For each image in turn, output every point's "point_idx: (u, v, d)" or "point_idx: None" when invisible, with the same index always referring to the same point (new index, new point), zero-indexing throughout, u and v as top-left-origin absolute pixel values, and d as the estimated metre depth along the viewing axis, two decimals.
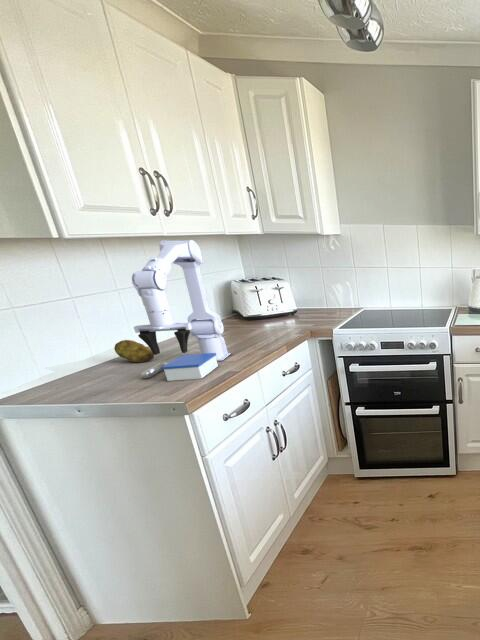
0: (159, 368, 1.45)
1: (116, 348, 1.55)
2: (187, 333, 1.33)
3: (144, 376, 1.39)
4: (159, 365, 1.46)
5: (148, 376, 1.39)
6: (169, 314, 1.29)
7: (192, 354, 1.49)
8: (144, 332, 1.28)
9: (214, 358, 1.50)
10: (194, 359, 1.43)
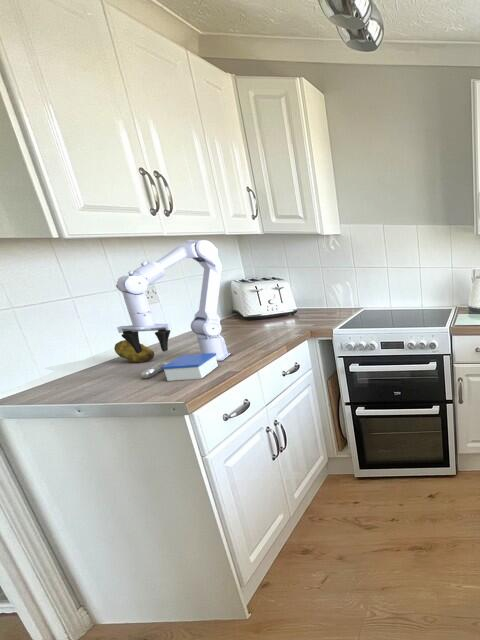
0: (159, 368, 1.45)
1: (116, 348, 1.55)
2: (167, 333, 1.44)
3: (144, 376, 1.39)
4: (159, 365, 1.46)
5: (148, 376, 1.39)
6: (150, 316, 1.39)
7: (192, 354, 1.49)
8: (127, 332, 1.39)
9: (214, 358, 1.50)
10: (194, 359, 1.43)
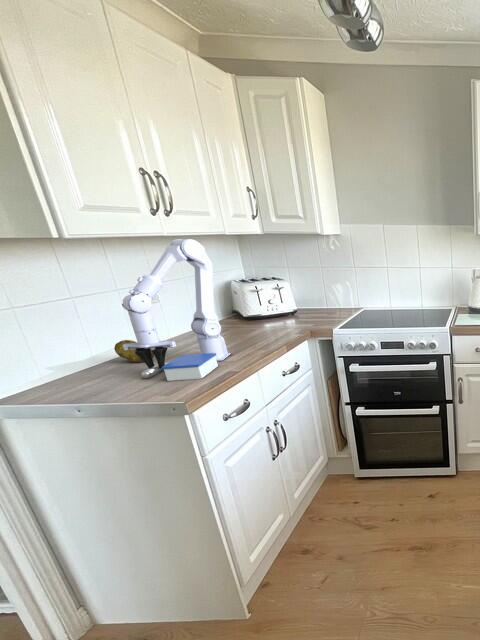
0: (159, 368, 1.45)
1: (116, 348, 1.55)
2: (164, 350, 1.46)
3: (144, 376, 1.39)
4: None
5: (148, 376, 1.39)
6: (155, 333, 1.42)
7: (192, 354, 1.49)
8: (140, 349, 1.42)
9: (214, 358, 1.50)
10: (194, 359, 1.43)
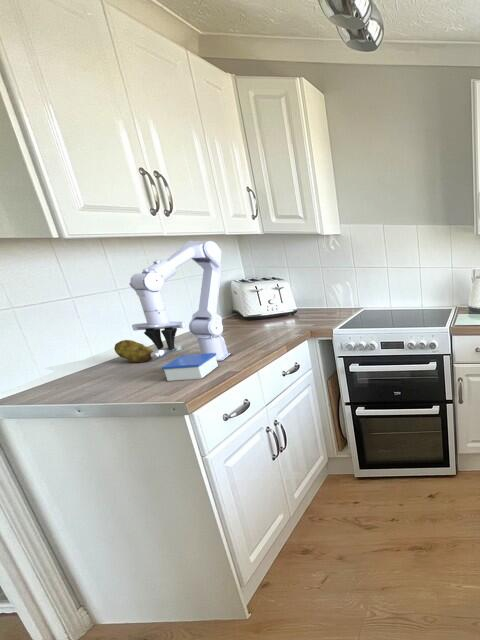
0: (168, 349, 1.42)
1: (116, 348, 1.55)
2: (174, 331, 1.43)
3: (153, 357, 1.35)
4: None
5: (157, 357, 1.36)
6: (164, 313, 1.39)
7: (192, 354, 1.49)
8: (149, 329, 1.39)
9: (214, 358, 1.50)
10: (194, 359, 1.43)
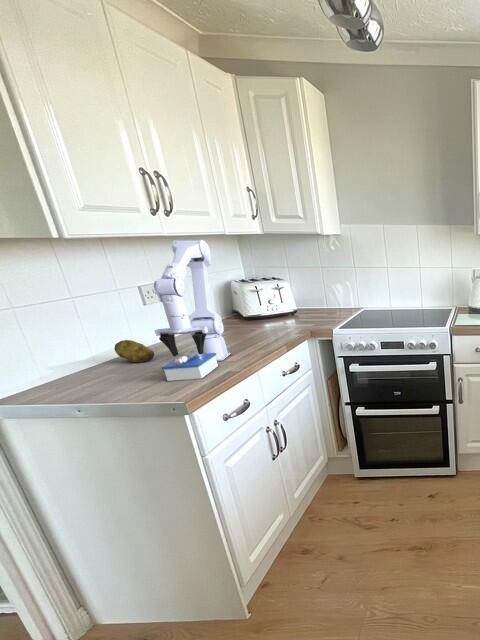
0: (191, 355, 1.42)
1: (116, 348, 1.55)
2: (203, 336, 1.43)
3: (177, 363, 1.35)
4: (191, 352, 1.43)
5: (181, 363, 1.36)
6: (187, 318, 1.38)
7: None
8: (164, 335, 1.38)
9: (214, 358, 1.50)
10: (194, 359, 1.43)
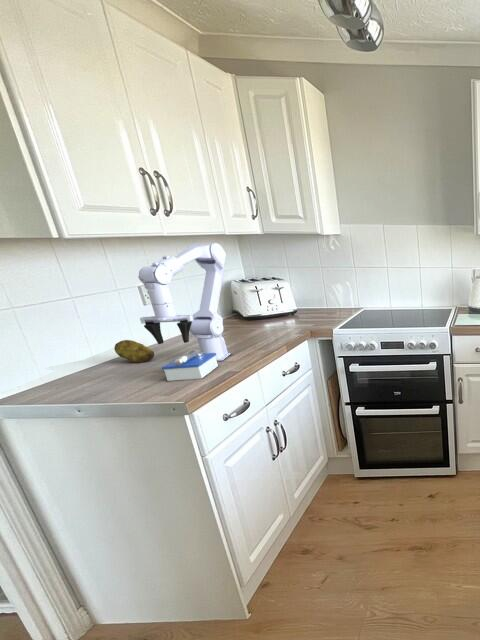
0: (191, 355, 1.42)
1: (116, 348, 1.55)
2: (189, 324, 1.44)
3: (177, 363, 1.35)
4: (191, 352, 1.43)
5: (181, 363, 1.36)
6: (172, 306, 1.40)
7: None
8: (149, 323, 1.39)
9: (214, 358, 1.50)
10: (194, 359, 1.43)
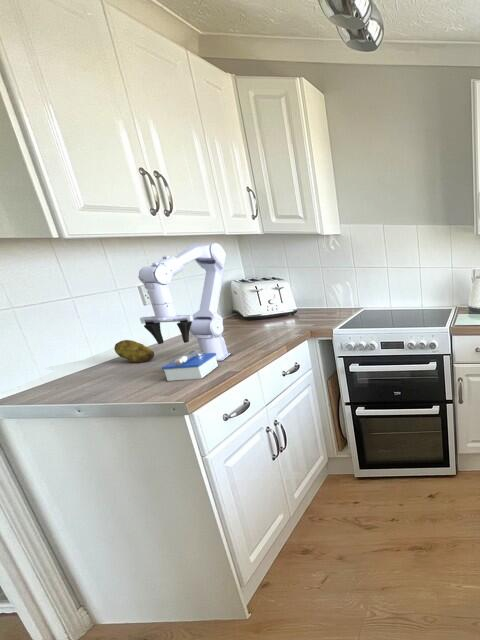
0: (191, 355, 1.42)
1: (116, 348, 1.55)
2: (189, 324, 1.44)
3: (177, 363, 1.35)
4: (191, 352, 1.43)
5: (181, 363, 1.36)
6: (172, 306, 1.40)
7: None
8: (149, 323, 1.39)
9: (214, 358, 1.50)
10: (194, 359, 1.43)
